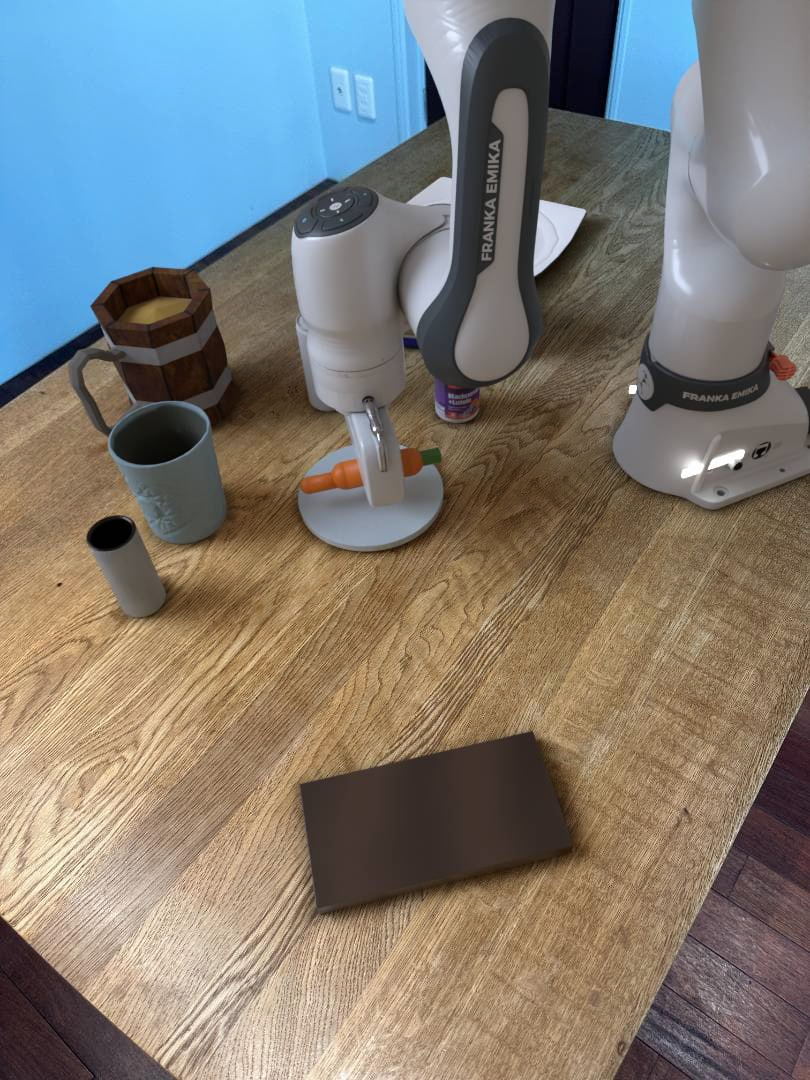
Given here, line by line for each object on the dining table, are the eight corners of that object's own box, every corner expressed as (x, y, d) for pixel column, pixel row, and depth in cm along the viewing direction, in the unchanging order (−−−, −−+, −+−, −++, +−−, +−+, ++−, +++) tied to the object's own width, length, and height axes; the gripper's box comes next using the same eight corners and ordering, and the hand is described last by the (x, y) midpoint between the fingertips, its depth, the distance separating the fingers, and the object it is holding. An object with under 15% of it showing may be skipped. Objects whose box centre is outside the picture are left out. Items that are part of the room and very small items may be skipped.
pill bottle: (449, 430, 97) (448, 362, 89) (427, 405, 100) (424, 338, 93) (488, 414, 98) (490, 347, 91) (465, 390, 101) (465, 323, 94)
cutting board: (531, 739, 70) (532, 730, 69) (572, 852, 63) (574, 845, 62) (301, 791, 68) (299, 783, 67) (318, 914, 61) (316, 908, 60)
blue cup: (145, 558, 86) (108, 476, 77) (140, 493, 92) (105, 411, 83) (240, 535, 87) (215, 453, 78) (228, 473, 94) (204, 390, 85)
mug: (185, 357, 109) (153, 254, 98) (260, 390, 104) (235, 285, 92) (70, 441, 99) (20, 337, 88) (146, 482, 93) (102, 377, 82)
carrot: (437, 456, 89) (436, 435, 87) (444, 474, 87) (443, 454, 85) (300, 485, 87) (295, 465, 85) (304, 505, 85) (299, 484, 83)
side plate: (425, 438, 96) (424, 430, 95) (459, 536, 85) (459, 529, 84) (291, 463, 94) (289, 456, 93) (309, 566, 84) (308, 559, 83)
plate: (596, 224, 126) (599, 208, 124) (511, 317, 111) (512, 300, 109) (439, 187, 137) (439, 171, 135) (342, 267, 122) (340, 250, 120)
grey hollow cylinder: (144, 625, 80) (110, 558, 72) (111, 606, 82) (75, 539, 74) (175, 593, 82) (146, 525, 75) (143, 576, 84) (111, 508, 76)
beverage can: (342, 415, 99) (330, 332, 90) (305, 412, 100) (289, 329, 91) (352, 391, 102) (341, 308, 93) (315, 387, 103) (301, 305, 94)
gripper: (417, 432, 70) (425, 538, 80) (370, 305, 83) (383, 410, 93) (345, 447, 69) (363, 551, 80) (310, 316, 83) (329, 421, 93)
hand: (373, 474), depth 87 cm, fingers closed on carrot, 3 cm apart
